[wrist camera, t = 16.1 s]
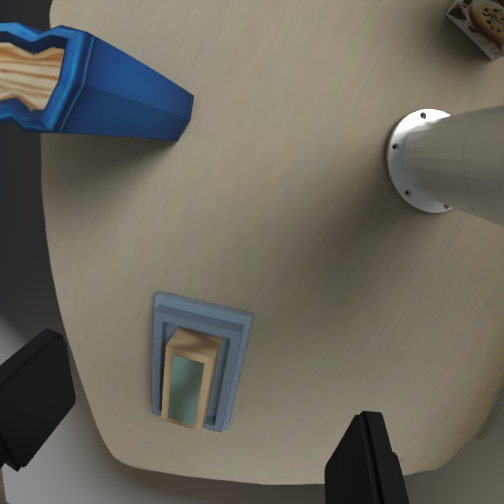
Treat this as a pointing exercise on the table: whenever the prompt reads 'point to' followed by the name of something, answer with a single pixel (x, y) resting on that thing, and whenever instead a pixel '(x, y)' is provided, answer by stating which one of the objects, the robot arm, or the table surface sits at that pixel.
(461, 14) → the coffee box
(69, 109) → the book
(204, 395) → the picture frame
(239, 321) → the blue tray
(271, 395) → the table surface
